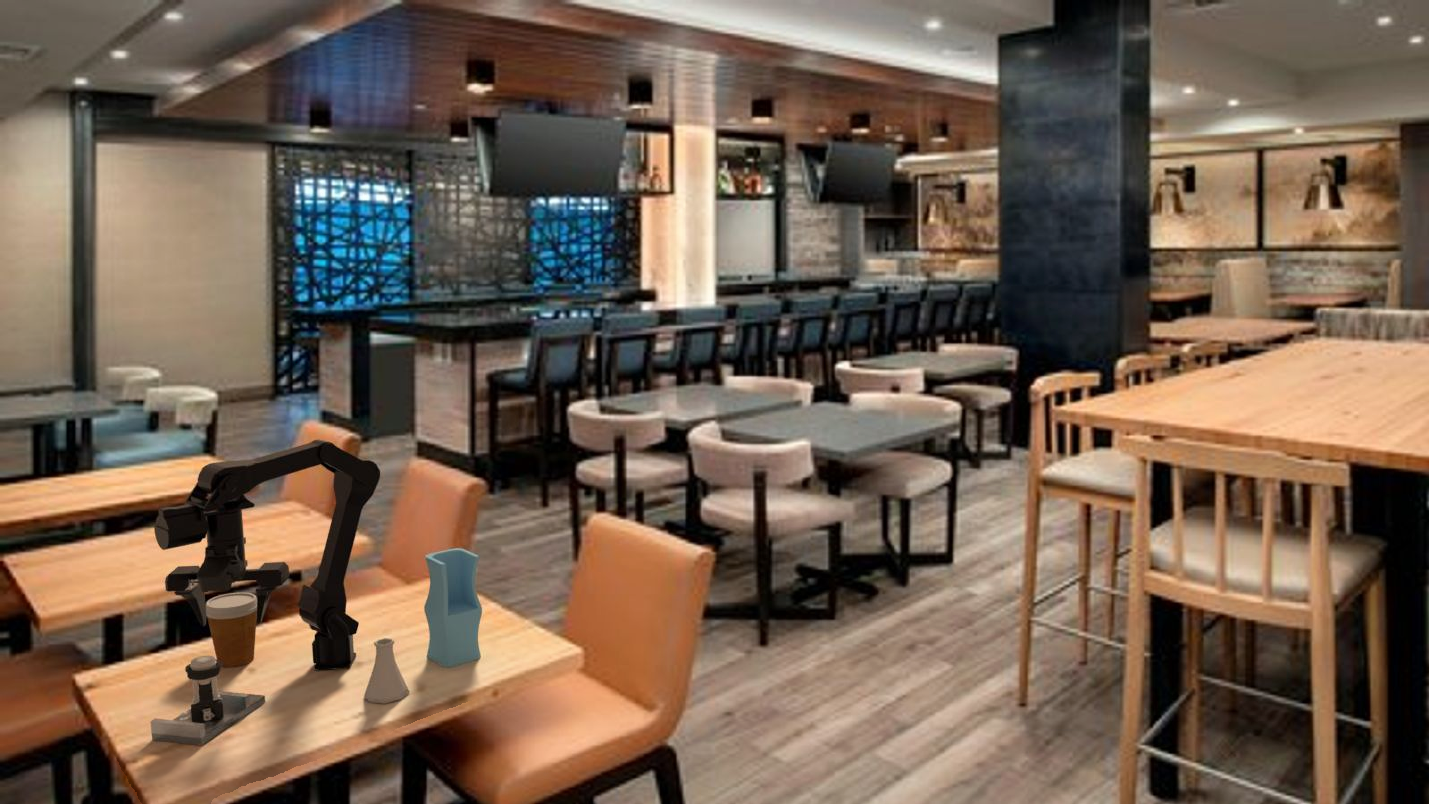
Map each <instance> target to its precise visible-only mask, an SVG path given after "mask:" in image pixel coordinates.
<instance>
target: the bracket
mask: <svg viewBox="0 0 1429 804" xmlns="http://www.w3.org/2000/svg"><path fill="white" fill-rule="evenodd" d="M212 691H213V690H212ZM218 695H220V698H222V703H223V715H224V716H223V717H222V718H214V719H211V720H207V721H205V720H203V721H198V722H192V719H189V720H188V719H187V720H182V721H180V718H185V717H189V716H191V714H185V715H180V714H179V715H178V716H177V717H175V718H173V719H164V718H163V719H162V718H153V719H151V720H150V731H151V740H152V741H156V742H165V743H166V742H167V743H176V744H183V745H193V746H200V747H201V746H203V745H205V744H206V743H208V742H209V741H210V740H212V739H214V738H215V737H217V736H218V735H220V734H221V733H223V732H224V731H225V730H227V729H228V728H230V727H231V726H233V725H235V724H236V722H238V721H240V720H241V719H243V718H244V717H246V716H247V715H249V714H250V713H251V712H253V711H255V710H256V709H257V708H259V707H260V706H262V705H264V704H265V703H266V695H263V694H254V693H253V694H252V693H242V692H240V693H239V692H232V691H223V690H221V691H220V690H218ZM198 697H199V691H198ZM213 698H214V691H213ZM198 702H200V701H199V700H198ZM187 711H191V708H190V709H188V710H186V711H185V712H187ZM182 713H183V712H182ZM183 714H184V713H183Z"/></svg>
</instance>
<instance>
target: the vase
mask: <svg viewBox="0 0 1429 804" xmlns="http://www.w3.org/2000/svg"><path fill="white" fill-rule="evenodd" d="M424 557H425V561H426V565H427V568H428V574H429V588H428V589H429V590H428V594H427V598H426V601H425V603H424V606H423V607H424V608H423V609H424V615H425V617H426V621H427V625H428V630H429V632H428V633H429V640H428V641H429V643H428V648H427V649H428V650H427V652H426V653H427V654H426V657H427V658H429V659H431V660H432V661H434V662H435V663H437V664H438V665H440V666H441V667H445V668H452V667H456V666H459V665H462V664H466V663H469V662H473V661H475V660H479V659H481V657H482V655H481V651H480V645H479V629H480V623H481V619H482V614H483V607H482V604H481V602H480V600H479V597H478V594H477V589H476V573H477V567H478V564H479V560H480V555H477V554H475V553H474V552H472V551H468V550H466V549H464V548H460V547H456V548H455V547H454V548H451V549H445V550H441V551H437V552H431V553H428V554H426V555H424Z"/></svg>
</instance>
